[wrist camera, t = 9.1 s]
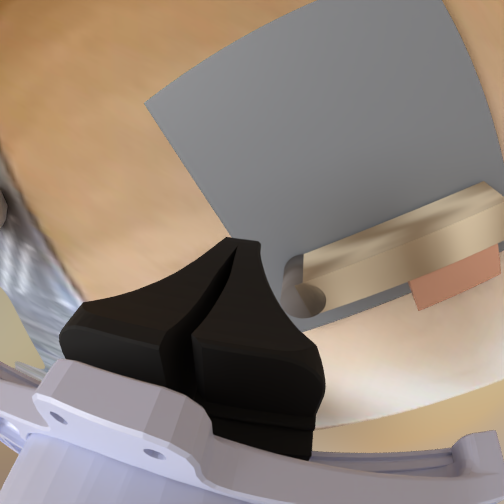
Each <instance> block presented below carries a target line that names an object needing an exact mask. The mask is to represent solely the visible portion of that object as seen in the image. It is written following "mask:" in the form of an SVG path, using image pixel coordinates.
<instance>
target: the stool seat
mask: <svg viewBox="0 0 504 504" xmlns="http://www.w3.org/2000/svg"><path fill="white" fill-rule="evenodd" d="M144 104H145V106H146V107H147V109H148V111H149V112H150V114H151V115H152V117H153V118H154V120H155V121H156V123H157V124H158V126H159V127H160V129H161V131H162V132H163V134H164V135H165V137H166V138H167V140H168V141H169V143H170V144H171V146H172V147H173V149H174V150H175V152H176V154H177V155H178V157H179V158H180V160H181V161H182V163H183V164H184V166H185V167H186V169H187V170H188V172H189V173H190V175H191V176H192V178H193V179H194V181H195V182H196V184H197V186H198V187H199V189H200V190H201V192H202V193H203V195H204V196H205V198H206V199H207V201H208V202H209V204H210V205H211V207H212V208H213V210H214V211H215V213H216V214H217V216H218V217H219V219H220V220H221V222H222V223H223V225H224V226H225V228H226V229H227V231H228V232H229V234H230V235H231V237H232V238H238V239H246V240H254V241H259V242H260V243H261V253H260V254H261V260H262V264H263V268H264V271H265V274H266V277H267V280H268V282H269V285H270V287H271V289H272V291H273V293H274V295H275V297H276V299H277V301H278V302H279V304H280V306H281V303H280V298H281V290H282V282H283V274H284V267H285V265H286V263H287V262H288V260H289V259H291V258H292V257H294V256H296V255H300V254H305V253H308V252H311V251H313V250H316V249H318V248H321V247H323V246H326V245H328V244H331V243H334V242H336V241H339V240H341V239H344V238H346V237H349V236H351V235H354V234H356V233H359V232H361V231H364V230H366V229H369V228H371V227H374V226H376V225H379V224H381V223H384V222H386V221H389V220H391V219H394V218H396V217H398V216H401V215H403V214H406V213H408V212H411V211H413V210H416V209H418V208H421V207H423V206H425V205H428V204H430V203H433V202H435V201H437V200H440V199H442V198H445V197H447V196H449V195H452V194H454V193H457V192H459V191H461V190H464V189H466V188H468V187H471V186H473V185H476V184H478V183H480V182H483V181H484V182H486V183H487V184H488V185H489V186H491V187H492V188H493V189H495V190H496V191H497V192H498V193H500V194H501V195H502V196H503V197H504V162H503V158H502V154H501V149H500V145H499V141H498V138H497V134H496V130H495V127H494V123H493V120H492V116H491V113H490V110H489V107H488V104H487V101H486V98H485V95H484V92H483V89H482V86H481V84H480V81H479V78H478V76H477V73H476V71H475V68H474V66H473V63H472V61H471V59H470V56H469V54H468V52H467V49H466V47H465V45H464V43H463V41H462V38H461V36H460V34H459V32H458V30H457V28H456V26H455V24H454V22H453V20H452V18H451V16H450V15H449V13H448V11H447V9H446V7H445V5H444V4H443V2H442V0H317V1H314V2H312V3H310V4H308V5H305V6H303V7H301V8H299V9H296V10H294V11H292V12H290V13H288V14H286V15H284V16H282V17H280V18H278V19H276V20H274V21H272V22H270V23H268V24H266V25H264V26H262V27H260V28H258V29H256V30H255V31H253V32H251V33H249V34H247V35H245V36H244V37H242V38H240V39H238V40H237V41H235V42H233V43H232V44H230V45H228V46H226V47H225V48H223V49H221V50H220V51H218V52H217V53H215V54H213V55H212V56H210V57H209V58H207V59H205V60H204V61H202V62H201V63H199V64H198V65H196V66H195V67H193V68H192V69H190V70H189V71H187V72H186V73H184V74H183V75H181V76H180V77H179V78H177V79H176V80H174V81H173V82H171V83H170V84H169V85H167V86H166V87H165V88H163V89H162V90H160V91H159V92H158V93H156V94H155V95H154V96H152V97H151V98H150V99H149V100H147V101H146V102H145V103H144ZM502 251H504V241H502V242H499V243H497V244H495V245H493V246H491V247H489V248H487V249H484V250H482V251H480V252H478V253H475V254H473V255H471V256H469V257H466V258H464V259H462V260H460V261H457V262H455V263H453V264H450V265H448V266H445V267H443V268H441V269H438V270H436V271H433V272H431V273H428V274H426V275H424V276H421V277H419V278H416V279H413V280H411V281H408V282H406V283H403V284H401V285H398V286H395V287H393V288H390V289H387V290H385V291H382V292H379V293H377V294H374V295H371V296H368V297H366V298H363V299H360V300H357V301H354V302H352V303H349V304H346V305H343V306H340V307H337V308H334V309H331V310H328V311H325V312H322V313H319V314H318V315H316V316H314V317H311V318H304V319H303V318H296V317H293V316H291V315H289V314H287V313H286V312H285V311H284V312H285V313H286V314H287V316H288V317H289V318H290V320H291V321H292V322H293V324H294V325H295V326H296V327H297V328H298V329H299V330H300V331H301V332H305V331H308V330H311V329H314V328H317V327H320V326H323V325H326V324H329V323H331V322H334V321H337V320H340V319H343V318H346V317H349V316H351V315H354V314H357V313H360V312H362V311H365V310H368V309H370V308H373V307H376V306H378V305H381V304H384V303H386V302H389V301H391V300H394V299H396V298H399V297H401V296H404V295H406V294H409V293H411V292H412V295H413V297H414V300H415V303H416V305H417V308H418V311H420V310H422V309H425V308H427V307H429V306H432V305H434V304H437V303H439V302H441V301H444V300H446V299H448V298H450V297H453V296H455V295H457V294H459V293H462V292H464V291H466V290H468V289H470V288H472V287H475V286H477V285H479V284H481V283H483V282H485V281H487V280H489V279H491V278H493V277H495V276H497V275H499V274H501V269H500V258H499V253H500V252H502ZM281 307H282V306H281ZM282 309H283V308H282Z"/></svg>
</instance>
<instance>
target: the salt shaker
mask: <svg viewBox="0 0 504 504" xmlns="http://www.w3.org/2000/svg"><path fill="white" fill-rule="evenodd" d="M7 208H8V205H7V203H6V201H5V199H4V196H3V194H2V191H1V190H0V230H1V228H2V226H3V224H4V222H5V220H6V215H7Z"/></svg>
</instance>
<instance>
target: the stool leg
mask: <svg viewBox="0 0 504 504" xmlns="http://www.w3.org/2000/svg"><path fill="white" fill-rule="evenodd" d="M502 241H504V197H503V196H502V195H501V194H500V193H498V192H497V191H496V190H495V189H493V188H492V187H491V186H489V185H488V184H487V183H486V182H484V181H483V182H480V183H478V184H476V185H473V186H471V187H468V188H466V189H464V190H461V191H459V192H457V193H454V194H452V195H449V196H447V197H445V198H442V199H440V200H437V201H435V202H433V203H430V204H428V205H425V206H423V207H421V208H418V209H416V210H413V211H411V212H408V213H406V214H403V215H401V216H398V217H396V218H394V219H391V220H389V221H386V222H384V223H381V224H379V225H376V226H374V227H371V228H369V229H366V230H364V231H361V232H359V233H356V234H354V235H351V236H349V237H346V238H344V239H341V240H339V241H336V242H334V243H331V244H328V245H326V246H323V247H321V248H318V249H316V250H313V251H311V252H308V253H305V254H300V255H296V256H294V257H292V258H291V259H289V260H288V262H287V263H286V265H285V267H284V274H283V282H282V290H281V298H280V303H281V306H282V308H283V310H284V311H285V312H286V313H287V314H289V315H291V316H293V317H296V318H303V319H304V318H311V317H314V316H316V315H318V314H319V313H322V312H325V311H328V310H331V309H334V308H337V307H340V306H343V305H346V304H349V303H352V302H354V301H357V300H360V299H363V298H366V297H368V296H371V295H374V294H377V293H379V292H382V291H385V290H387V289H390V288H393V287H395V286H398V285H401V284H403V283H406V282H408V281H411V280H413V279H416V278H419V277H421V276H424V275H426V274H428V273H431V272H433V271H436V270H438V269H441V268H443V267H445V266H448V265H450V264H453V263H455V262H457V261H460V260H462V259H464V258H466V257H469V256H471V255H473V254H475V253H478V252H480V251H482V250H484V249H487V248H489V247H491V246H493V245H495V244H497V243H499V242H502Z"/></svg>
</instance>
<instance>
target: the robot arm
mask: <svg viewBox="0 0 504 504" xmlns="http://www.w3.org/2000/svg"><path fill="white" fill-rule="evenodd" d="M260 253H261V243H260V242H259V241H254V240H246V239H238V238H230V237H226V238H224V239H223V240H222V241H220V242H219V243H218V244H216V245H215V246H214V247H213V248H211V249H210V250H209V251H207V252H206V253H205V254H203V255H202V256H201V257H199V258H198V259H197V260H195V261H193V262H192V263H190V264H189V265H187V266H186V267H184V268H183V269H181V270H179V271H178V272H176V273H174V274H172V275H170V276H168V277H166V278H164V279H162V280H160V281H158V282H155V283H153V284H150V285H148V286H145V287H143V288H140V289H138V290H135V291H132V292H128V293H125V294H122V295H118V296H114V297H110V298H105V299H100V300H95V301H89V302H83V303H82V305H81V306H80V307H79V308H78V310H77V311H76V312H75V313H74V315H73V316H72V317H71V318H70V320H69V321H68V322H67V324H66V325H65V326H64V327H63V329H62V330H61V332H60V334H59V343H60V346H61V349H62V352H63V354H64V356H65V358H66V359H58V360H57V361H56V362H55V363H54V364H53V365H52V366H51V368H50V369H49V371H48V372H47V374H46V375H45V377H44V378H43V380H42V381H41V382H40V381H38V380H36V379H34V378H32V377H30V376H27V375H25V374H23V373H21V372H19V371H18V370H16V369H14V368H12V367H10V366H8V365H6V364H4V363H2V362H0V441H1V442H3V443H4V444H5V445H6V446H8V447H9V448H11V449H12V450H13V451H15V452H16V453H18V454H19V456H18V458H17V459H16V461H15V463H14V465H13V467H12V469H11V471H10V473H9V475H8V477H7V479H6V481H5V483H4V485H3V487H2V489H1V491H0V504H497V503H499V502H501V501H502V500H504V461H503V456H502V452H501V448H500V445H499V441H498V437H497V433H496V431H495V430H491V431H485V432H478V433H472V434H468V435H466V436H464V437H462V438H460V439H459V440H458V441H457V442H456V443H455V444H454V445H453V446H452V448H444V449H435V450H425V451H411V452H391V453H336V452H318V451H312V439H313V431H314V429H315V420H316V413H317V411H318V409H319V406H320V404H321V402H322V399H323V397H324V394H325V376H324V370H323V365H322V361H321V358H320V355H319V351H318V348H317V346H316V345H315V344H314V343H313V342H312V341H311V340H310V339H309V338H307V337H306V336H305V335H304V334H303V333H302V332H301V331H300V330H299V329H298V328H297V327H296V326H295V325H294V324H293V322H292V321H291V320H290V318H289V317H288V316H287V314H286V313H285V312H284V310H283V309H282V307H281V306H280V304H279V302H278V301H277V299H276V297H275V295H274V293H273V291H272V289H271V287H270V285H269V282H268V280H267V277H266V274H265V271H264V268H263V264H262V260H261V254H260Z"/></svg>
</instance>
